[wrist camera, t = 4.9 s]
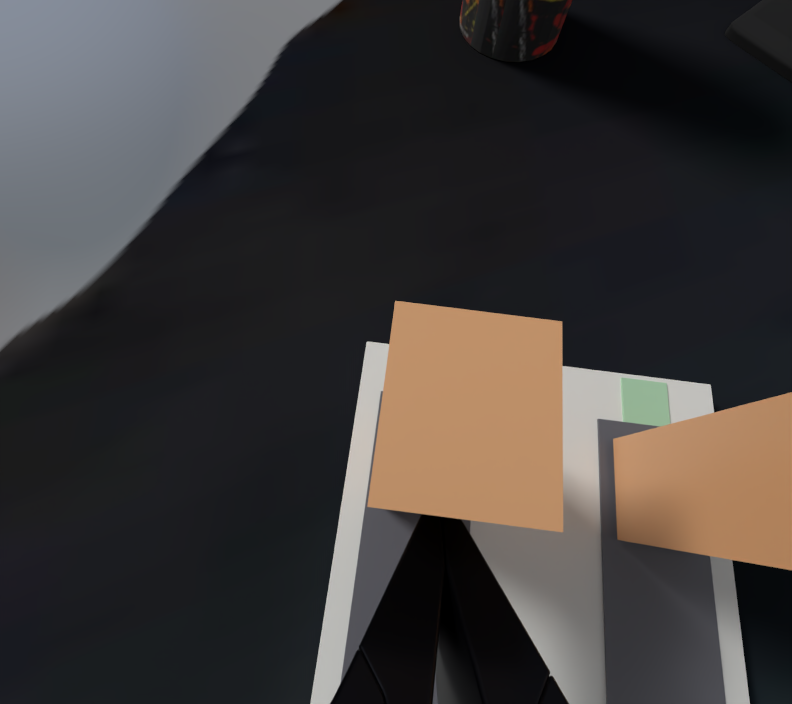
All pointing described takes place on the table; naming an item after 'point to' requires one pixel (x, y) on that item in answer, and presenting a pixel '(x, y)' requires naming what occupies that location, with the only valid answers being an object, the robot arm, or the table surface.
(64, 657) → the table surface
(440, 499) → the tab
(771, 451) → the tab
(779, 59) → the cell phone
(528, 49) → the deodorant
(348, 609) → the switch bank
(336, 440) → the table surface
